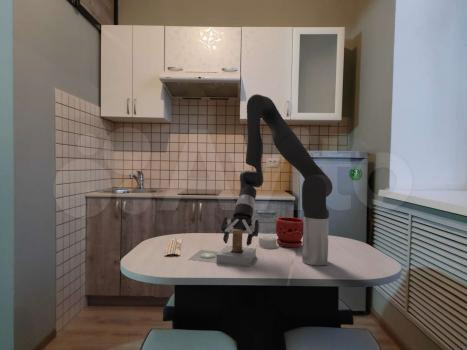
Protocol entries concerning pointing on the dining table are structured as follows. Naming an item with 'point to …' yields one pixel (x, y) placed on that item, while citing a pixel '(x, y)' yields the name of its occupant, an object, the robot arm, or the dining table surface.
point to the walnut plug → (237, 241)
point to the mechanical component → (267, 243)
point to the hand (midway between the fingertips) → (236, 243)
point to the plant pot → (289, 231)
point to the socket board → (226, 256)
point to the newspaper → (173, 246)
